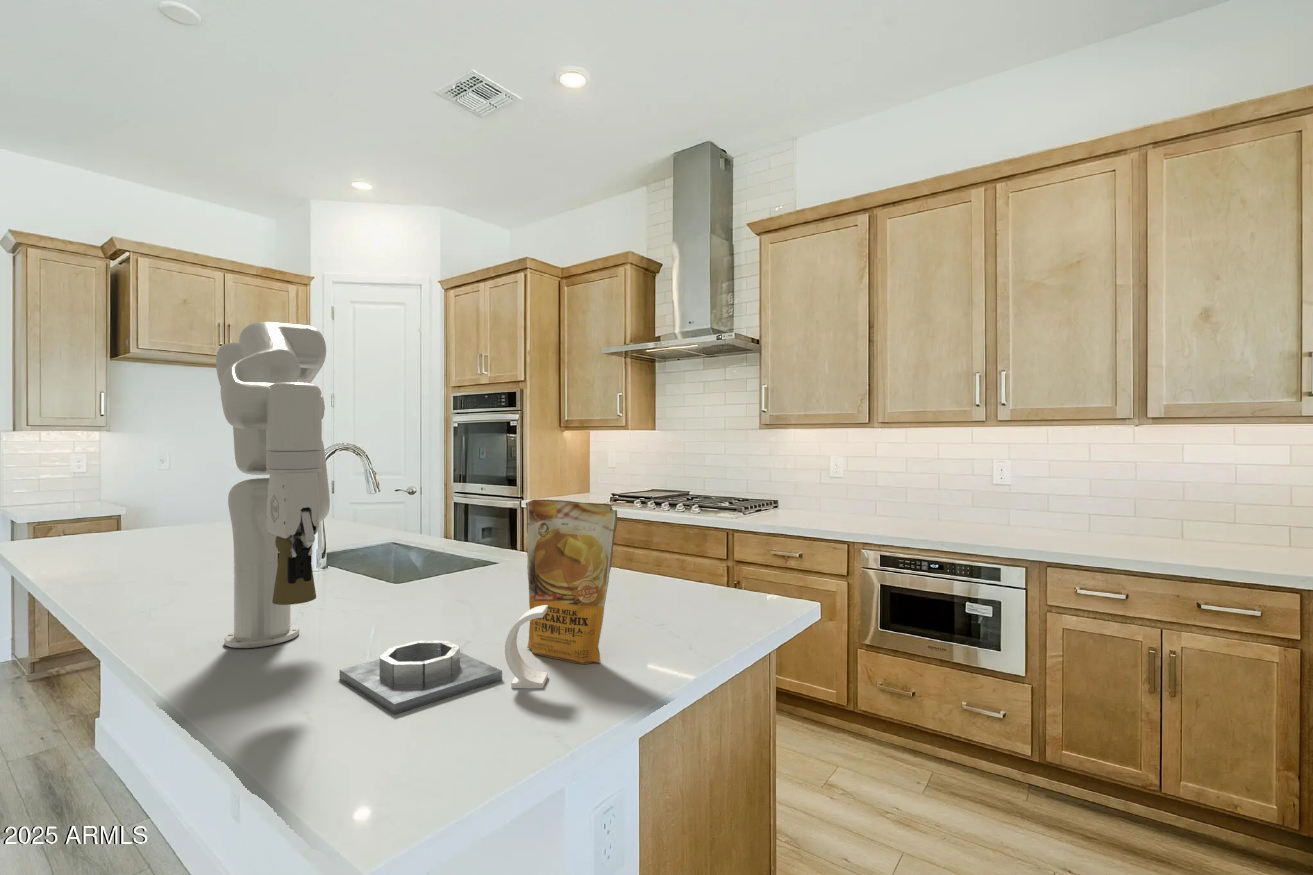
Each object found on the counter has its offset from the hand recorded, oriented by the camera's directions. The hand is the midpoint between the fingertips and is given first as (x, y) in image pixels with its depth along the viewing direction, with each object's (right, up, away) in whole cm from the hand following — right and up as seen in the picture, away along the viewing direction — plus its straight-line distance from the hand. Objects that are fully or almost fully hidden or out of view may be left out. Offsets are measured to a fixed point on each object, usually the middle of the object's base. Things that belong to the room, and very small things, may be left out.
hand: (294, 578), depth 101 cm
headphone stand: (+36, -18, +4) cm, 40 cm away
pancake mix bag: (+40, -18, +17) cm, 47 cm away
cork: (0, -3, 0) cm, 3 cm away
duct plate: (+18, -18, +5) cm, 26 cm away
